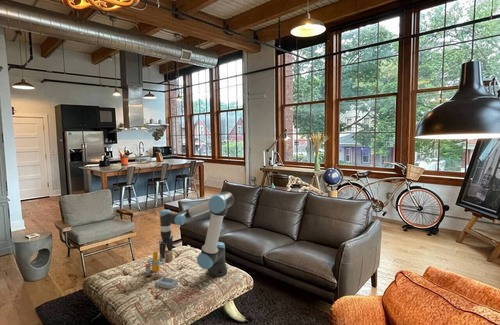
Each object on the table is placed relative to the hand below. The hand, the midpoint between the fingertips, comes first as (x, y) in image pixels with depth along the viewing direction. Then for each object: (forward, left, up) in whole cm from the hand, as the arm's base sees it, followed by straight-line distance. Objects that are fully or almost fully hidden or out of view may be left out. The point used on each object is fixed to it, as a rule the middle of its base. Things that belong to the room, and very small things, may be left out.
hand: (166, 260), depth 221 cm
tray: (-12, +15, -9) cm, 21 cm away
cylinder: (+10, 0, -10) cm, 14 cm away
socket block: (+5, +14, -9) cm, 18 cm away
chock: (0, 0, 0) cm, 1 cm away
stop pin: (+5, +14, -9) cm, 18 cm away
